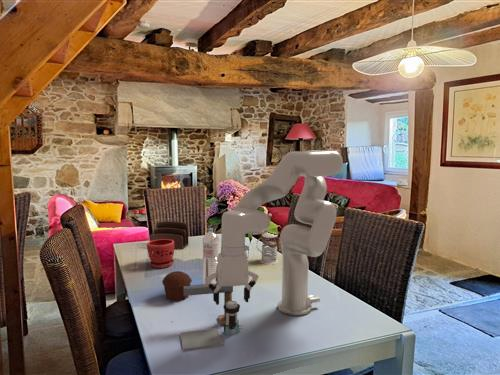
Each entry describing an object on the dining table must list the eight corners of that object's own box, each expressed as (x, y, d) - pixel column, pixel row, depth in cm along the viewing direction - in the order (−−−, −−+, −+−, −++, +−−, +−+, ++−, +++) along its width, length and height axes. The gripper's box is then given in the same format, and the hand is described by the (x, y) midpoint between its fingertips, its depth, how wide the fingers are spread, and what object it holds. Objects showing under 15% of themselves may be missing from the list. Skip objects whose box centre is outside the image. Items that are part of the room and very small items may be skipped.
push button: (239, 326, 129) (239, 297, 128) (246, 333, 125) (246, 304, 123) (221, 330, 127) (220, 301, 125) (227, 338, 122) (227, 307, 120)
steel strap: (233, 292, 131) (233, 283, 130) (184, 296, 127) (183, 287, 127) (231, 288, 134) (231, 279, 133) (183, 292, 130) (183, 283, 130)
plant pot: (172, 259, 199) (172, 237, 198) (176, 268, 187) (175, 244, 185) (146, 262, 195) (146, 239, 194) (148, 270, 183) (147, 246, 181)
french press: (279, 264, 193) (280, 215, 190) (256, 264, 193) (256, 215, 190) (278, 258, 203) (279, 211, 199) (256, 258, 203) (256, 211, 200)
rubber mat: (216, 329, 127) (216, 327, 127) (223, 345, 118) (223, 343, 118) (180, 334, 124) (180, 332, 124) (183, 350, 114) (183, 348, 114)
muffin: (156, 300, 150) (155, 275, 149) (172, 289, 160) (171, 266, 159) (182, 305, 146) (182, 279, 144) (197, 294, 156) (197, 270, 155)
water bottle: (222, 285, 165) (222, 228, 162) (210, 290, 160) (209, 231, 157) (211, 281, 169) (211, 226, 166) (199, 285, 165) (199, 228, 161)
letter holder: (157, 243, 231) (156, 220, 229) (188, 245, 227) (188, 221, 226) (150, 248, 221) (149, 224, 219) (183, 249, 218) (182, 225, 216)
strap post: (234, 315, 137) (234, 287, 136) (238, 323, 131) (238, 294, 130) (217, 317, 135) (217, 289, 134) (221, 325, 130) (221, 296, 128)
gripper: (255, 246, 128) (253, 295, 130) (203, 248, 123) (203, 299, 125) (262, 252, 121) (260, 304, 123) (208, 254, 116) (206, 309, 118)
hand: (231, 302), depth 124 cm, fingers open, 9 cm apart
